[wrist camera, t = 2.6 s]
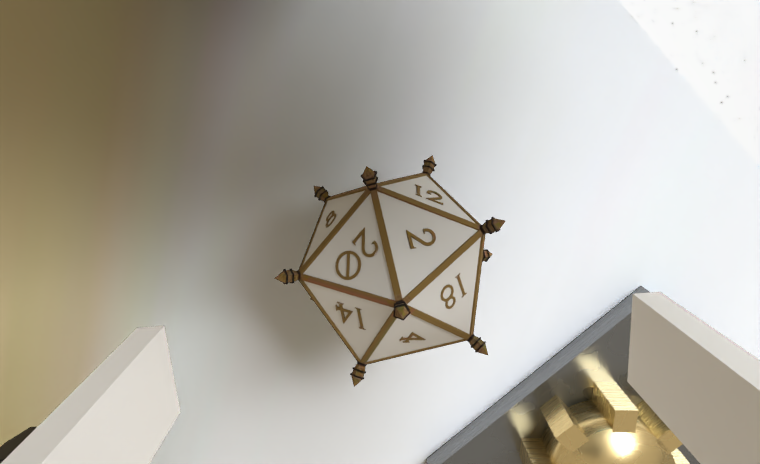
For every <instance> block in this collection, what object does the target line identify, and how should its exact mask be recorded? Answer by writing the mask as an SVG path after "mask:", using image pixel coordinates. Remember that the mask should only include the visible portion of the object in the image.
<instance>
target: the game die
mask: <svg viewBox="0 0 760 464" xmlns="http://www.w3.org/2000/svg"><path fill="white" fill-rule="evenodd" d="M435 166H436V164H435V162H434V158H433V155H432V156H431V157H429V158H428V159H427V160H424V165H423V166H422V167H423V172H422V173H420V174H415V175H411V176H406V177H402V178H397V179H393V180H389V181H384V182H380V183H377V180H378V177H376V174H377V171H373V170H371V169H370V168H368V167H367V166H366V168H365V170H364V173H363V174H362V175H361V177H362V178H363V182H364V184H365V185H366V186H364V187H361V188H357V189H354V190H351V191H347V192H344V193H341V194H337V195H334V196H329V195H328V194H329V193H328V192H327V190H325V189H324V187H323V186H322V187H318V186H314V191H315V197H318V198H319V199H318V200H322V201H324V202H325V204H324V206H323V209H322V212H321V214H320V217H319V219H318V222H317V224H316V227H315V230H314V232H313V235H312V237H311V240H310V242H309V245H308V248H307V250H306V253H305V255H304V258H303V260H302V263H301V266H300V268H299V270H298V271H293V270H292V269H290V270H285V269H284V270H283V272H282V273H280V274H279V275H278V276H277V277H275V278H274V279H277V280H279V281H281V282H283V283H284V284H288V283H289V282H290V283H294V281H297V280H299V281H300V283H301V284H302V285H303V287H304V288H305V290H306V291H307V292H308V294H309V295H310V296H311V300H313V301H314V302H315V303H316V305H317V306H318V307H319V309H320V310H321V312H322V313H323V314H324V316H325V317H326V319H327V320H328V321H329V323H330V324H331V325H332V327H333V328H334V330H335V331H336V332H337V334H338V335H339V336H340V338H341V339H342V341H343V342H344V343H345V345H346V346H347V348H348V349H349V350H350V352H351V353H352V354H353V356H354V357H355V359H356V360H357V365H356V366H355V367H353V369H354V370H353V372H352V373H350V375H352V380H353V384H354V386H356V385H357V384H358V383H359V382H360V381H361V380H362V379H364V378H363V376H364V373H366V372H365V366H366V365H367V364H371V363H375V362H379V361H383V360H387V359H391V358H396V357H400V356H404V355H408V354H412V353H416V352H421V351H425V350H429V349H433V348H437V347H441V346H446V345H450V344H454V343H458V342H462V341H466V340H467V341H468V342H469V343H470V345H471V348H472V347H473V348H474V349H475V352H479V353H482V354H486V355H488V353H487V349H486V345H485V343H486V342H483V341H482V340H481V337H480V338H478V337H476V336H474V334H473V332H474V324H475V315H476V307H477V299H478V290H479V282H480V274H481V265H482V262H483V261H485V262H487V260H488V259H489V258H490V256H491V255H492V253H490V252H489V251H488V250H483V249H484V240H485V233H490V234H492V233H494V231H495V232H498V231H499V230H500V228H501V226H502V225H503V224H504V222H505V221H504V220H499V219H495V218H494V217H491V220H486V222H485V223H484V224H483V225H481V224H480V223H478V222H477V221H476V220H475V219H474V218H473V217H472V216H471V215H470V214H469V213H468V212H467V211H466V210H465V209H464V208H463V207H462V206H461V205H460V204H459V203H458V202H457V201H456V200H454V199H453V198H452V197H451V196H450V195H449V194H448V193H447V192H446V191H445V190H444V189H443V188H442V187H441V186H440V185H439V184H438V183H437V182H436V181H435V180H434V179H433V178H432V177H430V174H431V173H432V171H434V167H435Z"/></svg>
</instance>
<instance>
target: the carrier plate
mask: <svg viewBox="0 0 760 464" xmlns="http://www.w3.org/2000/svg"><path fill="white" fill-rule="evenodd" d="M635 293H649V291H648V290H646V289H645V288H643V287H642V286H640V287H639V288H638V289H637V290H635V291H634V292H633V293H632V294H631V295H629V296H628V297H627V298H626V299H624V300H623V301H622V302H621V303H619V304H618V305H617V306H616V307H614V308H613V309H612V310H611V311H609V312H608V313H607V314H606V315H604V316H603V317H602V318H601V319H600V320H598V321H597V322H596V323H595V324H593V325H592V326H591V327H590V328H588V329H587V330H586V331H585V332H583V333H582V334H581V335H580V336H578V337H577V338H576V339H575V340H573V341H572V342H571V343H570V344H568V345H567V346H566V347H565V348H564V349H562V350H561V351H560V352H559V353H557V354H556V355H555V356H554V357H552V358H551V359H550V360H549V361H547V362H546V363H545V364H544V365H542V366H541V367H540V368H539V369H537V370H536V371H535V372H534V373H532V374H531V375H530V376H529V377H528V378H526V379H525V380H524V381H523V382H521V383H520V384H519V385H518V386H516V387H515V388H514V389H513V390H511V391H510V392H509V393H508V394H506V395H505V396H504V397H503V398H501V399H500V400H499V401H498V402H496V403H495V404H494V405H493V406H492V407H490V408H489V409H488V410H487V411H485V412H484V413H483V414H482V415H480V416H479V417H478V418H477V419H475V420H474V421H473V422H472V423H470V424H469V425H468V426H467V427H465V428H464V429H463V430H462V431H460V432H459V433H458V434H457V435H456V436H454V437H453V438H452V439H451V440H449V441H448V442H447V443H446V444H444V445H443V446H442V447H441V448H439V449H438V450H437V451H436V452H434V453H433V454H432V455H431V456H429V457H428V458H427V464H700V463H699V461H698V460H697V459H696V458H695V457H694V456H693V455H692V454H691V452H690V451H689V450H688V449H687V448H686V447H685V446H684V445H683V444H682V442H681V441H680V440H679V439H678V438H677V437H676V436H675V435H674V433H673V432H672V431H671V430H670V429H669V428H668V427H667V426H666V424H665V423H664V422H663V421H662V420H661V419H660V418H659V417H658V415H657V414H656V413H655V412H654V411H653V410H652V409H651V408H650V406H649V405H648V404H647V403H646V402H645V401H644V400H643V399H642V397H641V396H640V395H639V394H638V393H637V392H636V391H635V390H634V388H633V387H632V386H631V385H630V384H629V383H628V382H627V379H628V363H629V346H630V330H631V314H632V298H633V294H635Z"/></svg>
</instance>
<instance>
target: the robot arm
mask: <svg viewBox="0 0 760 464" xmlns="http://www.w3.org/2000/svg"><path fill="white" fill-rule="evenodd" d="M627 382H628V383H629V384H630V385H631V386H632V387H633V388H634V390H635V391H636V392H637V393H638V394H639V395H640V396H641V397H642V399H643V400H644V401H645V402H646V403H647V404H648V405H649V406H650V408H651V409H652V410H653V411H654V412H655V413H656V414H657V415H658V417H659V418H660V419H661V420H662V421H663V422H664V423H665V424H666V426H667V427H668V428H669V429H670V430H671V431H672V432H673V433H674V435H675V436H676V437H677V438H678V439H679V440H680V441H681V442H682V444H683V445H684V446H685V447H686V448H687V449H688V450H689V451H690V452H691V454H692V455H693V456H694V457H695V458H696V459H697V460H698V461H699V463H700V464H760V360H759V359H758V358H756V357H755V356H753V355H752V354H750V353H749V352H747V351H746V350H744V349H743V348H742V347H740V346H739V345H737V344H736V343H734V342H733V341H731V340H730V339H728V338H727V337H725V336H724V335H723V334H721V333H720V332H718V331H717V330H715V329H714V328H712V327H711V326H709V325H708V324H707V323H705V322H704V321H702V320H701V319H699V318H698V317H696V316H695V315H693V314H692V313H690V312H689V311H688V310H686V309H685V308H683V307H682V306H680V305H679V304H677V303H676V302H674V301H673V300H671V299H670V298H669V297H667V296H666V295H664V294H663V293H661V292H649V293H635V294H633V298H632V314H631V330H630V346H629V363H628V379H627ZM180 412H181V411H180V406H179V401H178V396H177V390H176V385H175V380H174V374H173V369H172V364H171V358H170V353H169V348H168V342H167V337H166V332H165V326H153V327H138V328H136V329H135V330H134V331H133V332H132V333H131V334H130V335H129V336H128V337H127V338H126V339H125V340H124V341H123V342H122V343H121V344H120V345H119V346H118V347H117V348H116V349H115V350H114V351H113V352H112V353H111V354H110V355H109V356H108V357H107V358H106V359H105V360H104V361H103V362H102V363H101V364H100V365H99V366H98V367H97V368H96V369H95V370H94V371H93V372H92V373H91V374H90V375H89V376H88V377H87V378H86V379H85V380H84V381H83V382H82V383H81V384H80V385H79V386H78V387H77V388H76V389H75V390H74V391H73V392H72V393H71V394H70V395H69V396H68V397H67V398H66V399H65V400H64V401H63V402H62V403H61V404H60V405H59V406H58V407H57V408H56V409H55V410H54V411H53V412H52V413H51V414H50V415H49V416H48V417H47V418H46V419H45V420H44V421H43V422H42V423H41V424H40V425H39V426H38V427H30V428H28V429H27V430H25V431H23V432H22V433H20V434H19V435H17V436H15V437H14V438H12V439H11V440H9V441H7V442H6V443H4V444H3V445H2V446H1V447H0V464H150V462H151V460H152V459H153V457H154V455H155V454H156V452H157V450H158V449H159V447H160V445H161V444H162V442H163V440H164V439H165V437H166V435H167V434H168V432H169V430H170V429H171V427H172V425H173V424H174V422H175V420H176V419H177V417H178V415H179V414H180Z"/></svg>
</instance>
